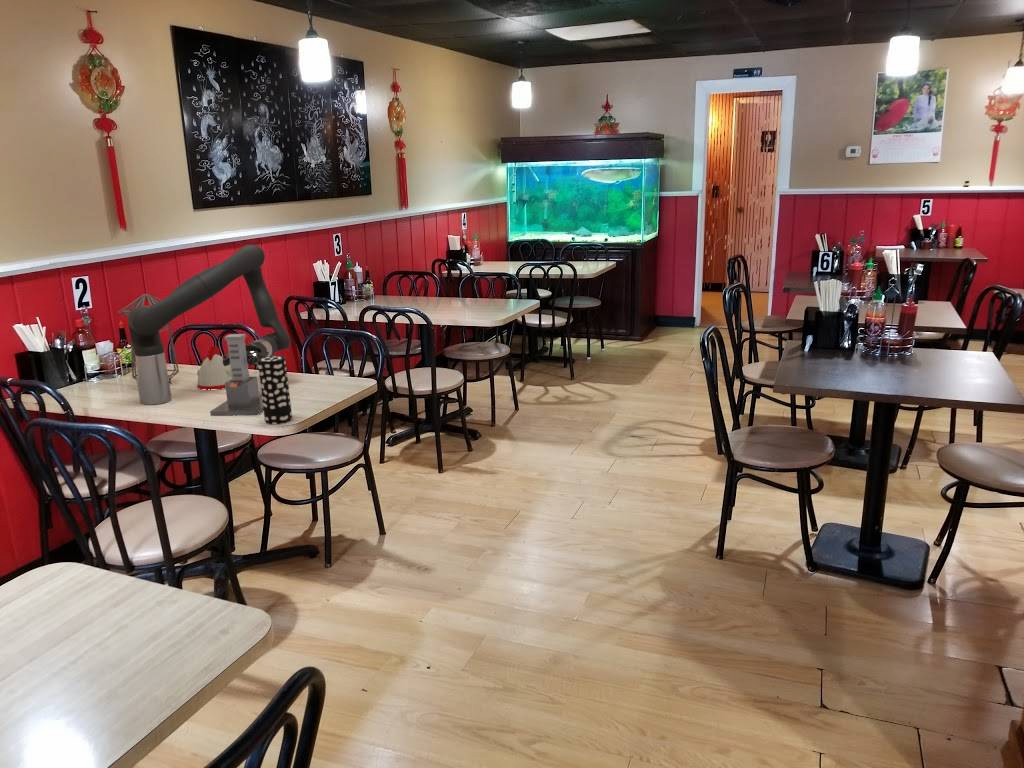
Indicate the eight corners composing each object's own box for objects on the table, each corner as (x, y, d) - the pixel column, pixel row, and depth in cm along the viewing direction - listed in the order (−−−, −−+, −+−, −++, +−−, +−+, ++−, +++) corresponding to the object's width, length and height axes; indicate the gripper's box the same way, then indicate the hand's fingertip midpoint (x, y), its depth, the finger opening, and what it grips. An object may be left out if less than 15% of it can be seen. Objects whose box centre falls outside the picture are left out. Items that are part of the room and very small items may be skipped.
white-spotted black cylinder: (270, 416, 244) (262, 356, 239) (295, 416, 244) (288, 355, 239) (261, 424, 236) (253, 362, 231) (287, 424, 236) (280, 361, 231)
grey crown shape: (243, 380, 292) (238, 342, 288) (227, 390, 278) (222, 350, 275) (208, 380, 293) (203, 342, 289) (191, 390, 280) (185, 350, 276)
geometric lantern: (147, 381, 296) (135, 291, 287) (187, 381, 295) (176, 291, 286) (126, 391, 280) (112, 297, 272) (168, 391, 280) (156, 297, 271)
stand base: (210, 415, 248) (206, 386, 245) (232, 401, 263) (228, 373, 260) (257, 415, 246) (254, 385, 243) (277, 401, 261) (273, 373, 259)
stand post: (233, 405, 252) (224, 337, 246) (239, 401, 256) (230, 334, 250) (248, 405, 251) (239, 336, 245) (254, 401, 256) (245, 334, 250)
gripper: (236, 341, 264) (214, 352, 249) (275, 341, 263) (256, 351, 247) (239, 362, 266) (217, 374, 251) (278, 362, 265) (259, 373, 249)
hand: (236, 362), depth 249 cm, fingers open, 8 cm apart
